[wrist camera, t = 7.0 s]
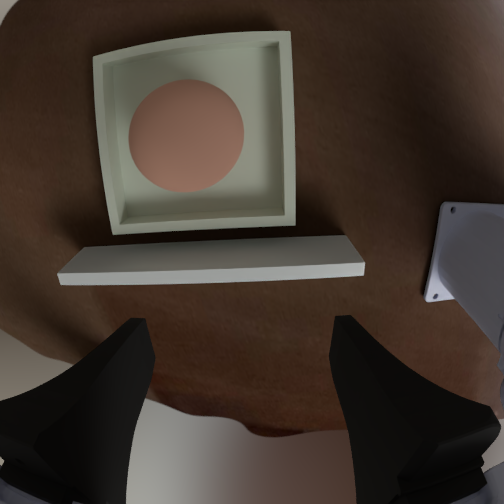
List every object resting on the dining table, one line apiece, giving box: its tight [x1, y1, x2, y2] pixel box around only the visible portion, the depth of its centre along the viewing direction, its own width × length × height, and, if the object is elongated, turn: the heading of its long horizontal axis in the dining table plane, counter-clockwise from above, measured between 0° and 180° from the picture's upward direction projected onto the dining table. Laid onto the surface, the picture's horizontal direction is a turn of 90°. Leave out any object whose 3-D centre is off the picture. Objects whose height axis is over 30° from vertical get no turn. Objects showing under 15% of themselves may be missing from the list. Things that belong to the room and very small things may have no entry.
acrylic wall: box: [57, 235, 365, 285], centre depth 19 cm, size 18×1×4 cm, turn 92°
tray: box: [93, 31, 296, 235], centre depth 16 cm, size 11×11×2 cm
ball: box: [128, 79, 244, 192], centre depth 14 cm, size 6×6×6 cm
